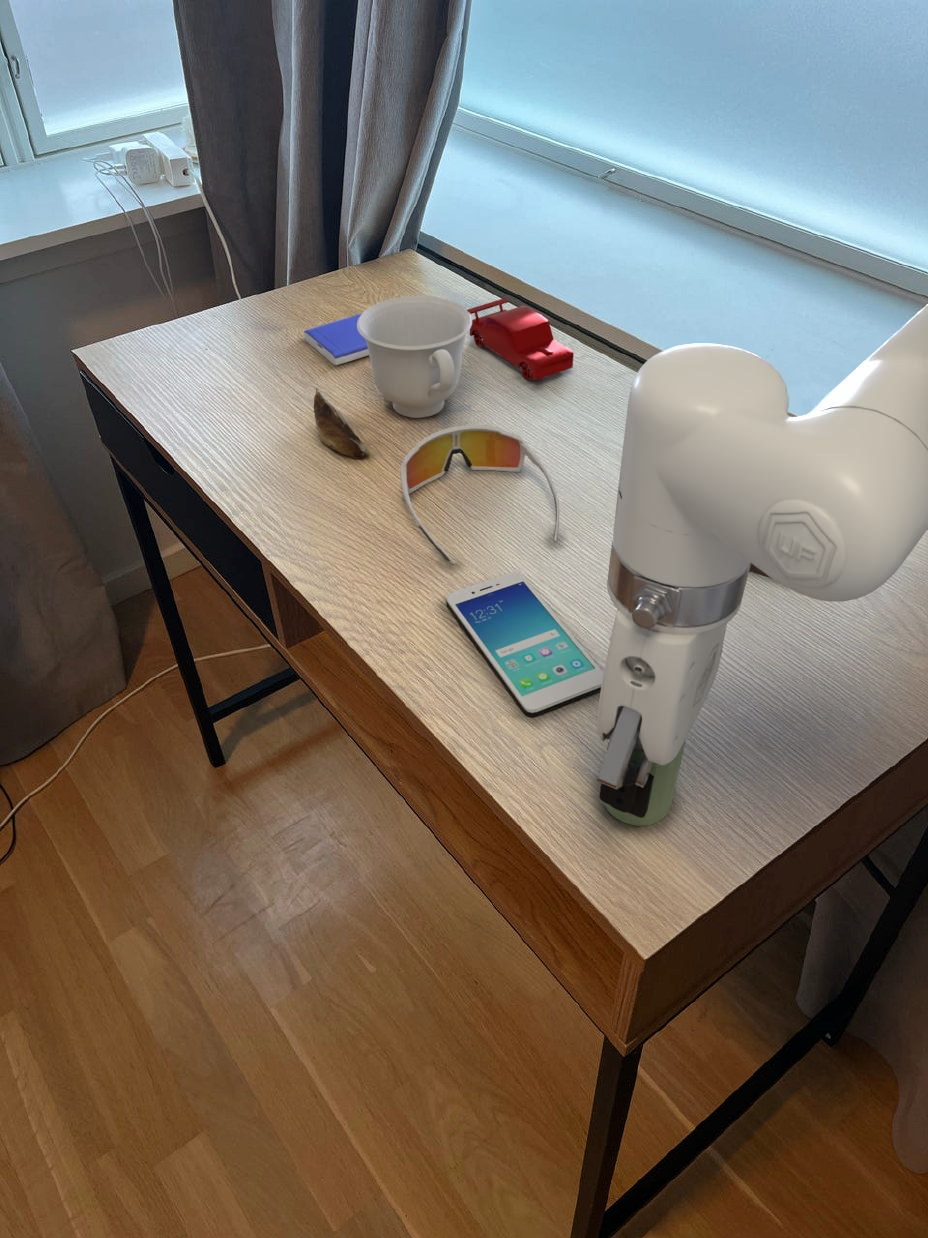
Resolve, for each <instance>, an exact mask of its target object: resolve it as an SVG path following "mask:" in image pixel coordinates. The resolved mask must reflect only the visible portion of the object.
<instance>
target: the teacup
mask: <svg viewBox="0 0 928 1238" xmlns="http://www.w3.org/2000/svg"><path fill="white" fill-rule="evenodd" d="M467 310H468V309H466V308H465V307H463V305H460V304H459V303H457V302H455V301H453V300H450V299H446V298H442V297H438V296H431V295H405V296H397V297H393V298H389V299H385V300H381V301H379V302H377V303H374V304H372V305H371V306H369V307H368V308H366V309H365V310H364V311H363V312H362V313H361V314H362V315H361V316H360V317H359V319H358V321H357V329H358V331H359V333H360V334H361V335H362V336H363V337H364V338H365V340H366V343H367V347H368V351H369V355H368V356H369V360H370V363H371V364H370V365H371V369H372V374H373V377H374V380H375V384H376V386H377V389H378V390H379V392H380V393H381V395H382V396H383V397H384V398H385V399H386V400H388V401H390V402H392V407H393V409H394V411H395V412H396V413H398V414H399V415H401V416H404V417H408V418H414V419H421V418H427V417H431V416H433V415H437V414H438V413H440V412H441V411H442V410H443V409H444V407H445V400H447V399H448V398H450V396H451V395H453V393H454V392H455V390H456V388H457V386H458V384H459V380H460V375H461V372H462V371H461V368H462V360H463V352H464V344H465V340H466V339H465V338H466V335H467V333H469V332H470V328H471V326H472V320H473V317H472V314H470V313H469V312H468V311H467Z"/></svg>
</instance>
